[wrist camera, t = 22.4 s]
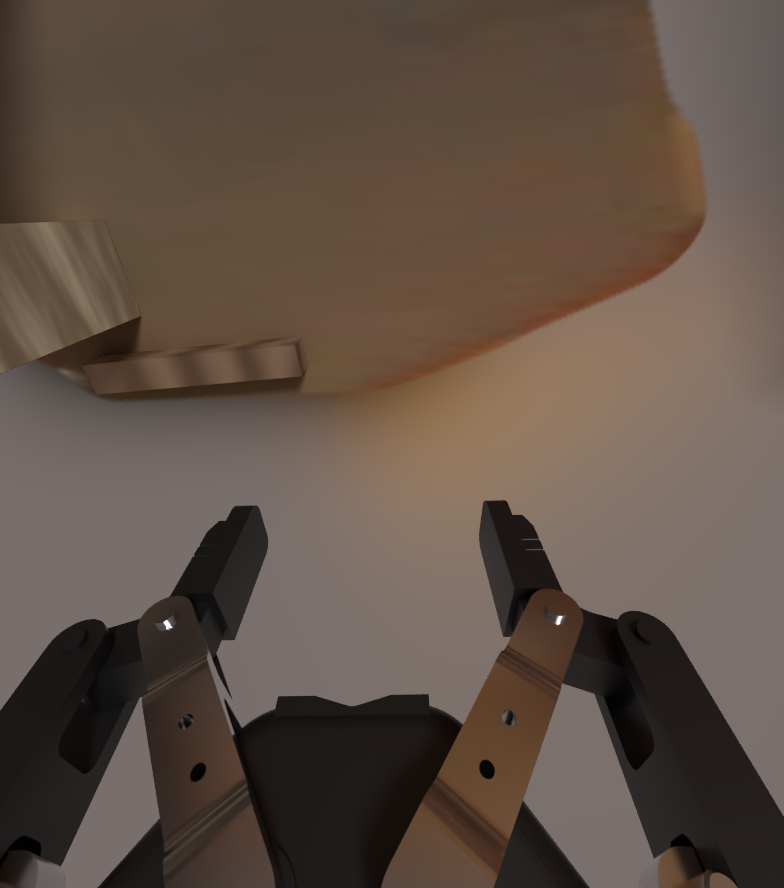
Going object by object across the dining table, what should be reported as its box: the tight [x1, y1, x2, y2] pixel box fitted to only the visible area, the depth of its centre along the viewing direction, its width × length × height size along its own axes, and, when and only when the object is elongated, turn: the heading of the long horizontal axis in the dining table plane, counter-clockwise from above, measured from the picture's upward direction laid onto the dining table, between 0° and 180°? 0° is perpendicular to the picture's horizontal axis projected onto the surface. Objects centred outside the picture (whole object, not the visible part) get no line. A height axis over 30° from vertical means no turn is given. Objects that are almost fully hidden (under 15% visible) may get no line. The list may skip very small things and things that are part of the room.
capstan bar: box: [81, 337, 308, 395], centre depth 42 cm, size 24×4×4 cm, turn 96°
